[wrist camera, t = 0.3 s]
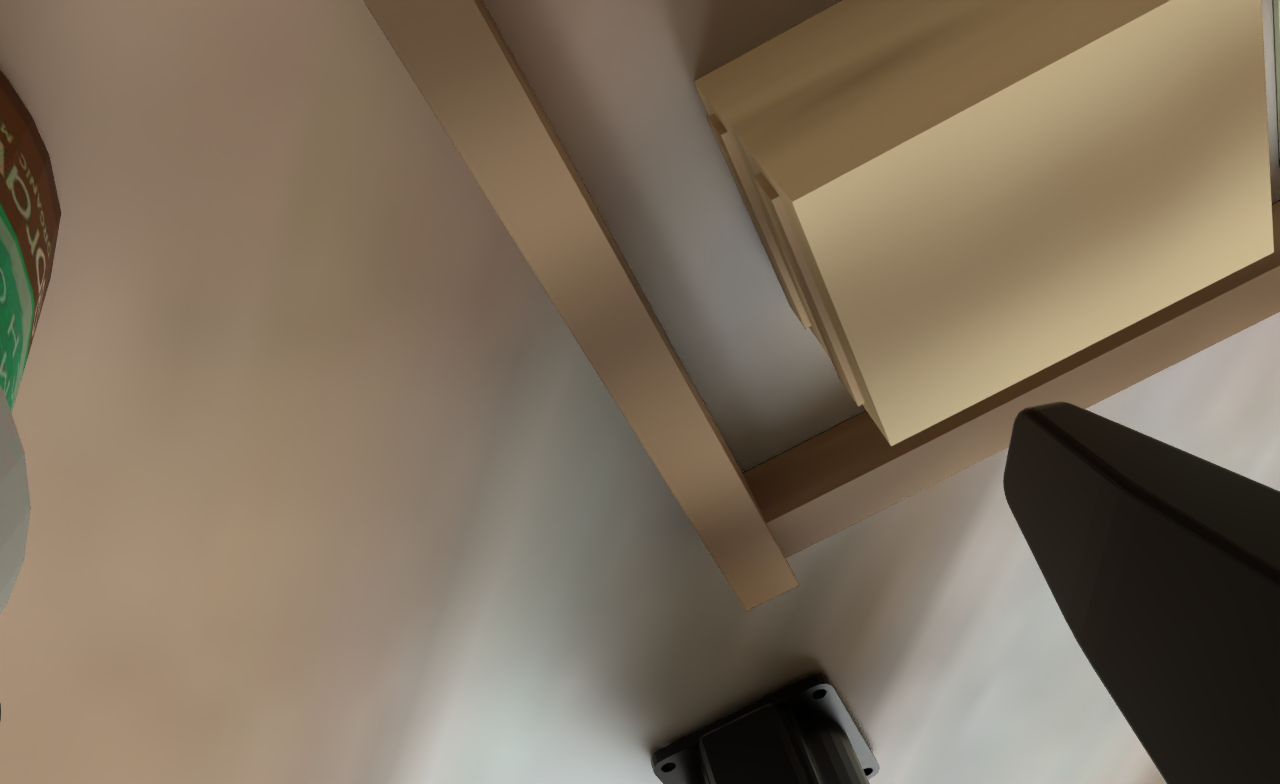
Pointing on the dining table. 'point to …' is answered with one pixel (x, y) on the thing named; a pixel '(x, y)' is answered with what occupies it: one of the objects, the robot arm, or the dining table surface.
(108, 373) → the dining table surface
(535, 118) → the bay
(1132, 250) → the box
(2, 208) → the food container
